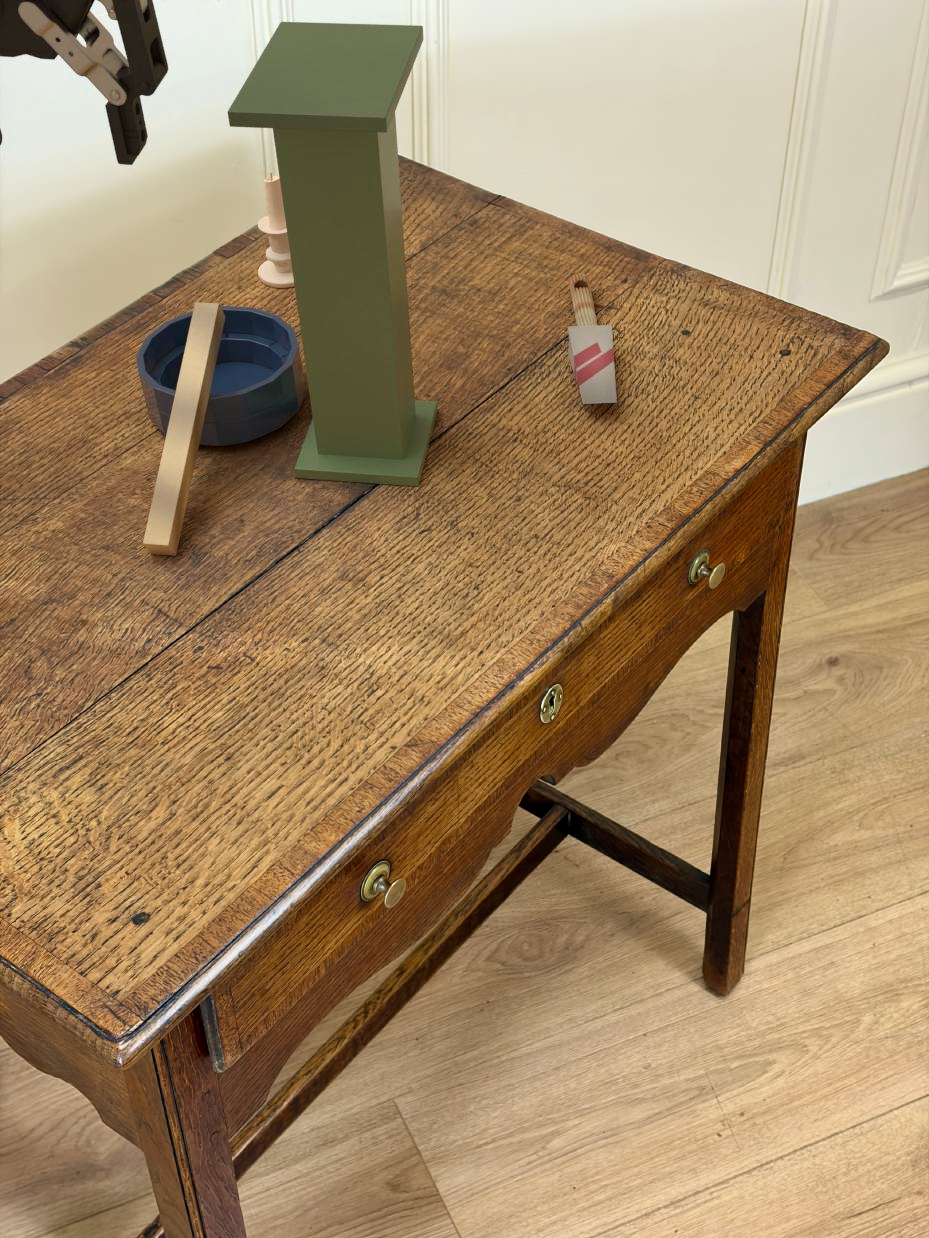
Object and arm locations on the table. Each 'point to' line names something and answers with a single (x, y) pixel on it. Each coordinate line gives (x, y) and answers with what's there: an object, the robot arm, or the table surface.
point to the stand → (346, 240)
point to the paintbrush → (590, 347)
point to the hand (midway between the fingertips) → (60, 154)
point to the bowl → (229, 375)
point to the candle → (275, 239)
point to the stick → (184, 430)
